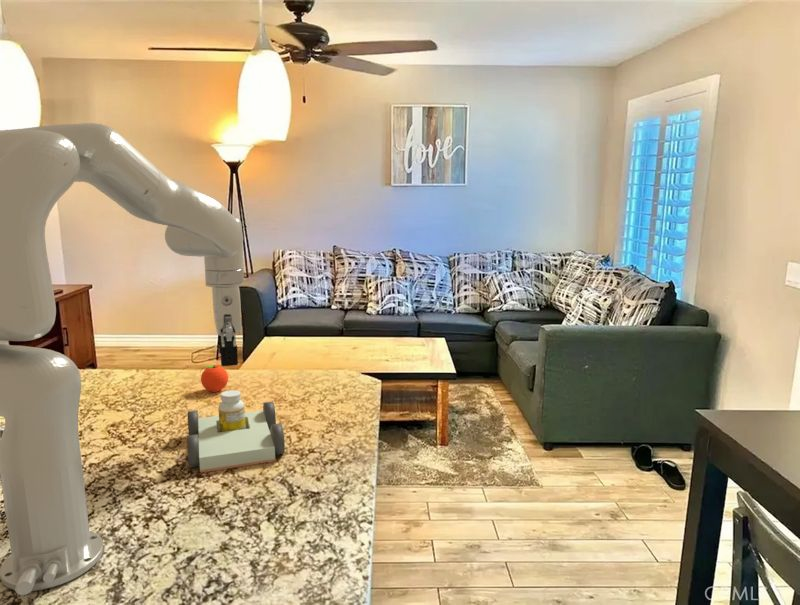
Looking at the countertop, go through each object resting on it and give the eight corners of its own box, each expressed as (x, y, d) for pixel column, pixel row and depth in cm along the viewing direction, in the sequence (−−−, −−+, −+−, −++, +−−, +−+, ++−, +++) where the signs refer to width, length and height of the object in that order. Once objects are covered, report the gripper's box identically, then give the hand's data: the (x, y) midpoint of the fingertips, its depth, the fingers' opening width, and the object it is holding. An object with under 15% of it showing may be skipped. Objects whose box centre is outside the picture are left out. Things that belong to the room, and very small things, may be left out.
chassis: (285, 459, 113) (284, 431, 111) (188, 474, 107) (186, 444, 105) (272, 421, 131) (271, 397, 130) (189, 432, 125) (187, 406, 124)
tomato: (192, 393, 149) (190, 367, 147) (208, 385, 155) (206, 360, 154) (219, 396, 147) (217, 370, 145) (234, 387, 153) (232, 362, 152)
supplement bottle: (246, 439, 121) (244, 396, 119) (219, 442, 119) (217, 398, 117) (245, 429, 126) (243, 388, 124) (220, 432, 124) (217, 390, 122)
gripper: (247, 283, 109) (250, 368, 112) (240, 272, 125) (243, 347, 128) (206, 284, 106) (210, 372, 109) (204, 273, 122) (208, 350, 125)
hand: (228, 358), depth 119 cm, fingers open, 9 cm apart
